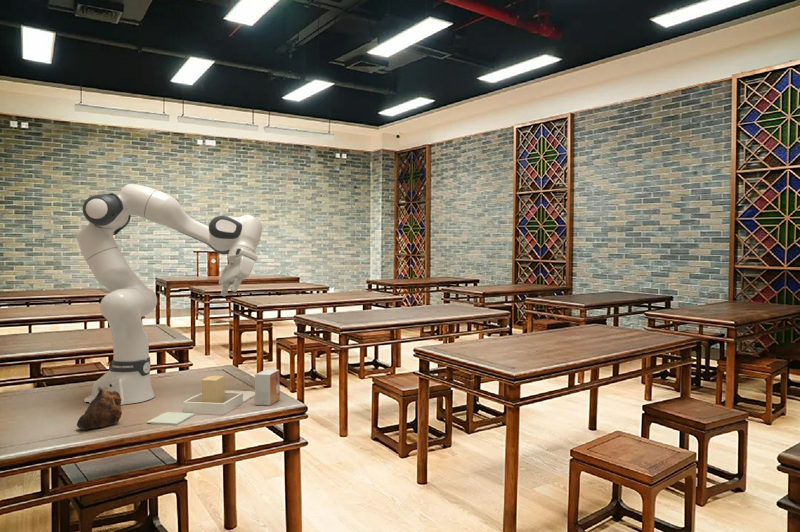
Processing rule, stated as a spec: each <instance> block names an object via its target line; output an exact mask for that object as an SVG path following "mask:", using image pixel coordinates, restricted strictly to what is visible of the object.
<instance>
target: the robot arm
mask: <svg viewBox="0 0 800 532" xmlns="http://www.w3.org/2000/svg"><path fill="white" fill-rule="evenodd" d="M82 214H83V216H84V218H85V219H86V221H88V222H89V224H88V225H86V226H83V228H81V229H80V230H79V231H78V233H77V235H76V240H77V243H78V247H79V249H80V252H81V254H82V256H83V258H84V260H85V262H86V264H87V266H88V268H89V269H90V270H91V272H92V274H93V277H94V278H95V279H96V281H97V282H98V284H100V285H102V286H103V287H104V288H106V289H107V290H108V291H109V293H108V294H106V295H104V297H102V299H101V300H100V304H99V310H100V313H101V315H102V317H104V318H105V319H106V321H107V322H108V325H109V328H110V329H109V330H110V332H111V334H112V335H111V336H112V340H113V341H112V344H113V345H112V346H113V359H112V360H111V361H108V362H106V366H107V367H109V370H108V371H107V372H106V373H104V374H103V375H101V377H100V378H98V379H97V380H96V381H94V383H93V386H92V388H91V394H90V395H88V396H86V397H85V398H84V400H83V403H86V402H89V403H88V404H90V403H91V402H92V400H93V399H95V397H96V396H97V394H98V392H99V390H100V389H104V390H106V391H111V392H113V391H116V392H118V393H119V394H120V397H121V405H120V406H123V405H130V404H136V403H142V402H146V401H148V400H152V399H153V398H155V396H156V395H155V392H154V390H153V384H152V379H151V357H150V353H149V352H150V351H149V349H150V347H149V343H150V342H149V334H148V333H147V331H146V330H145V328H144V325H143V321H142V317H146V316H147V315H149V314H150V313H151V312H153V311H154V310H155V308H156V307H157V305H158V297H157V295H156V293H155V292H154V290H152V289H150V288H149V287H148V286H147V285H146V284H145V283H144V281H143V280H141V279H140V278H139V277H138V275H137V274H136V273H135V272H134V270H132V268H131V267H130V265H129V264H128V262H127V260H126V259H125V256H124V255H123V253H122V252H121V250H120V247H119V246H118V244H117V243H116V241H115V239H114V236H115V235H117V234H118V233H120V232H121V231H122V230H123V229H124V228H126V227H127V226H128V225H129V223H130V221H131V220H132V219H131V218H132V217H131V216H137V217H139V218H140V217H141V218H143V219H145V220H148V221H151V222H154V223H157V224H159V225H160V226H161V225H162V226H164V227H167V228H168V229H171V230H174V231H177V232H178V233H181V234H184V235H185V236H187V237H190V238H192V239H195V240H196V241H199V242H201V243H203V244H205V245H207V246H209V248H211V249H212V250H213V251H214V252H215V253H217V254H219V255H225V256H227V257H226V260H227V261H228V264H226V265H225V267H224V268H223V270H222V273H221V275H220V278H219V280H218V285H220V286H221V292H220V295H221V296H222V297H226V296H227V295H228V294H229V293H228V292H229V290H228V289H230V287H231V289H230V292H233V293H236V292H237V291H238V289H239V287H240V285H241V284H242V282H243V281H244V280H246V279H248V278H249V276H250V275H251V273H252V270H253V268H254V266H255V262H257V260H258V259H259V255H257V254H256V251H257V250H256V249H257V247H258V246H259V244H260V241H261V237H262V233H263V224H262V222H261V221H260V219H258V218H257V217H256V216H254V215H252V214H244V215H240V216H226V215H219V216H215V217H214V218H212V219H211V220H210V222H209V223H208V225H206V224H204V223H202V222H200V221H197V220H195V219H194V218H192V217H191V216H189V215H188V213H186V212H185V210H184V209H183V208H182V206H181V204H180V202H178V201H177V199H176V198H175V197H173V196H171V195H170V194H168V193H166V192H163V191H160V190H159V189H156V188H153V187H149V186H146V185H143V184H138V183H137V184H136V183H128V184H125V185H124V186H123V187H122V188H121V190H120V192H119V193H118V194H116V193H114V192H109V193H103V194H95V195H92V196H89V197H87V199H86V200H85V201H84V202H83V205H82Z"/></svg>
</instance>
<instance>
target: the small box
mask: <svg viewBox="0 0 800 532" xmlns="http://www.w3.org/2000/svg"><path fill="white" fill-rule="evenodd" d="M280 379H281V377H280V369H270V368H269V369H267V368H264V370H262V371H259V372H258V373H255V374H254V391H255V396H254V399H255V401H254V402H255V403H254V404H255V405H256V406H272V405H273V404H274V403H276V402H278V401H280V400H281V395H280V393H281V392H280V389H281V385H280ZM279 399H280V400H279ZM277 400H278V401H277Z"/></svg>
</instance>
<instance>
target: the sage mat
mask: <svg viewBox="0 0 800 532" xmlns="http://www.w3.org/2000/svg"><path fill="white" fill-rule="evenodd" d="M194 416H196V414H195V413H183V412H171V411H166V412H164V413H161V414H159V415H158V416H156V417H153V418H151V419H149V420H147V421H146V423H153V424H152V425H163V424H166V425H167V424H169V425H170V426H178V425H180V424H182V423H184V422H185V421H187V420H189V419H190V417H191V418H192V417H194ZM183 421H184V422H183ZM181 422H182V423H181ZM169 425H167V426H169Z"/></svg>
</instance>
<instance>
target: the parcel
mask: <svg viewBox="0 0 800 532" xmlns="http://www.w3.org/2000/svg"><path fill="white" fill-rule="evenodd" d="M225 378H226V376H225V375H209V376H207V377H205V378H202V379H201V381H200V382H201V393H202V402H203V403H225V390H226V382H225V381H226V379H225Z"/></svg>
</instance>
